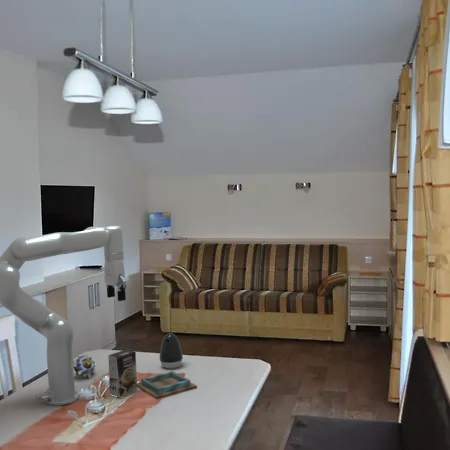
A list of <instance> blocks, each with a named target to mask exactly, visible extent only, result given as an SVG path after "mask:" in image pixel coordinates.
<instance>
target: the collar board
mask: <svg viewBox="0 0 450 450" xmlns="http://www.w3.org/2000/svg"><path fill="white" fill-rule="evenodd" d="M139 388H140V389H139ZM197 388H198V385H196V384H195V383H193V382H191V380H190V379H188V378H187V377H185V376H182V375H180V374H179V373H177V372H175V371H172V370H171V371H167V372H164V373H160V374H157V375H151V376H148V377H144V378H141V380H140V382H137V389H139V390H141V391H142V390H143V391H142V392H144V393H146V394H147V395H148V396H151V397H152V398H154V399H155V400H160V399H163V398H167V397H171V396H173V395H177V394H181V393H184V392H188V391H191V390H195V389H197Z"/></svg>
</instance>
